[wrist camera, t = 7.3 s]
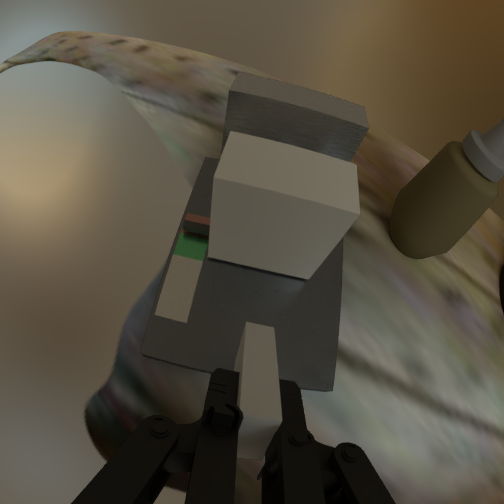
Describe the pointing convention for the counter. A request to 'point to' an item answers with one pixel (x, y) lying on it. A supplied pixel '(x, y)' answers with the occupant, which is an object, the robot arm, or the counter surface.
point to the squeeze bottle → (448, 194)
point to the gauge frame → (249, 278)
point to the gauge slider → (278, 206)
